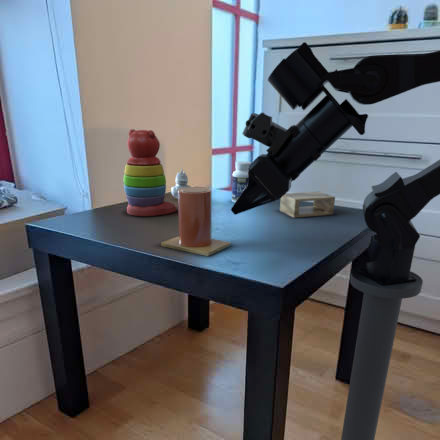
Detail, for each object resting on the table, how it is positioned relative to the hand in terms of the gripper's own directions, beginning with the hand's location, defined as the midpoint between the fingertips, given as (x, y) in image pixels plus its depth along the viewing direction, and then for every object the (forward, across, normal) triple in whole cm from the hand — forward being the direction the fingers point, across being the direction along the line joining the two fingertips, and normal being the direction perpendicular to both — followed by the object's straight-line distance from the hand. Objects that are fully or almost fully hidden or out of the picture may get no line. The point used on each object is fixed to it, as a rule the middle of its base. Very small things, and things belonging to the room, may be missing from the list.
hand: (239, 206), depth 68 cm
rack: (-1, -31, +12) cm, 33 cm away
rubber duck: (+22, -38, -12) cm, 45 cm away
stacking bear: (+24, -22, -13) cm, 35 cm away
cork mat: (+11, 0, 0) cm, 11 cm away
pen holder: (+10, 0, -1) cm, 10 cm away
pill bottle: (+11, -39, 0) cm, 40 cm away
